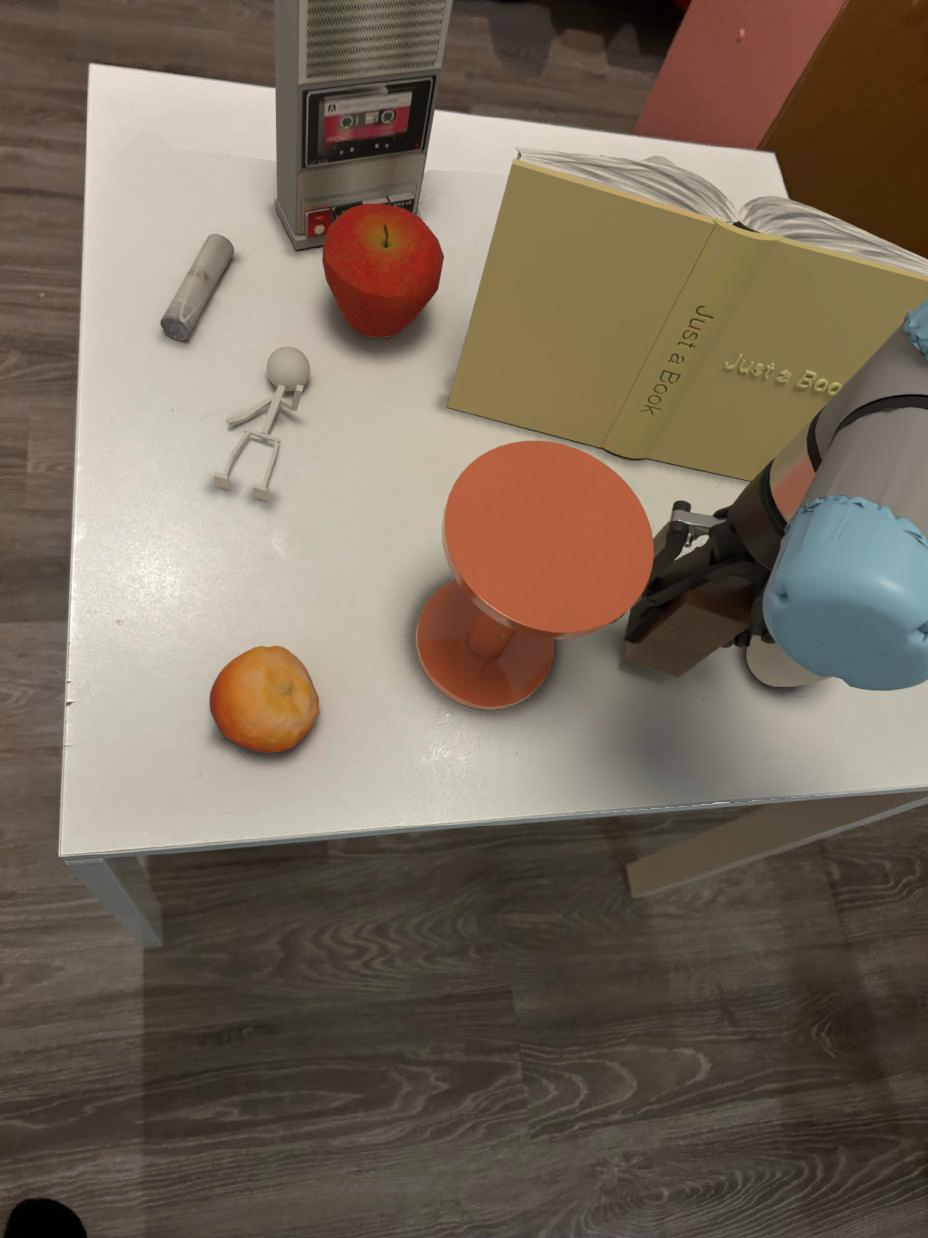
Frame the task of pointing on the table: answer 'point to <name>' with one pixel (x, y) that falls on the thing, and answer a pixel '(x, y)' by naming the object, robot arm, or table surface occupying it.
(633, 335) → the book
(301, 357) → the figurine
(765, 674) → the cup
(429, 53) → the cassette tape recorder
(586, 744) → the table surface
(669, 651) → the walnut block
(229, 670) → the fruit
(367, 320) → the apple
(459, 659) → the orange pedestal stand
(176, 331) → the rod
